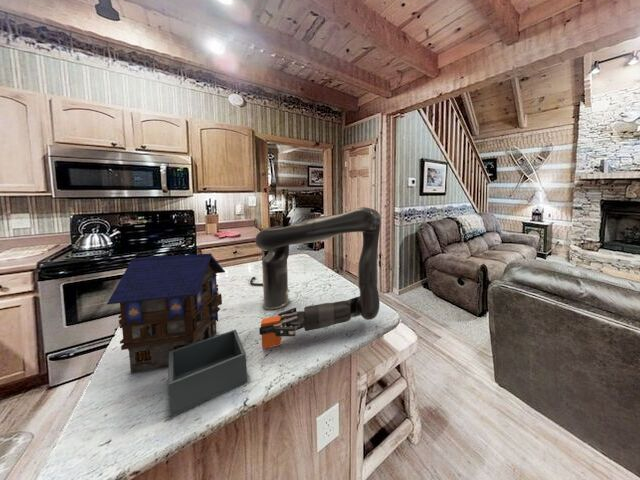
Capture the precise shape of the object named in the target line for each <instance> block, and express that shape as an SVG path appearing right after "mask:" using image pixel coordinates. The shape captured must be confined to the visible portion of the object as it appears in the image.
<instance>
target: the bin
mask: <svg viewBox="0 0 640 480" xmlns="http://www.w3.org/2000/svg"><path fill="white" fill-rule="evenodd" d="M247 366H248V365H247V352H246V351H245V348H244V346H243V344H242V341H241V339H240V335H239V334H238V331H237V329H232V330H230V331H226V332H223V333H221V334H218V335H217V334H216V335H215V336H214V337H211V338H208V339H205V340H203V341H200V342H197V343H194V344H191V345H188V346H185V347H182V348H179V349H176V350H173V351H170V352H169V367H168V369H167V370H168V372H167V374H168V375H167V389H168V390H167V391H168V403H169V415H170V418H173V417H175V416H178V415H179V414H181V413H184V412H186V411H188V410H190V409H192V408H194V407H196V406H199V405H201V404H203V403H205V402H208V401H209V400H211V399H213V398H216V397H218V396H220V395H222V394H224V393H227V392H230V391H231V390H233V389H235V388H237V387H239V386H242V385H243V384H246V383H248V369H247Z"/></svg>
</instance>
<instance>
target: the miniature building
mask: <svg viewBox="0 0 640 480" xmlns="http://www.w3.org/2000/svg"><path fill="white" fill-rule="evenodd" d="M126 267H127V268H126V269H125V271H124V273H123V275H122V276H121V278H120V280H119V281H118V283H117V286H116V287H115V289H114V291H113V292H112V294H111V296H110V298H109V300H108V301H107V302H106V305H113V304H114V305H115V304H119V307H120V308H119V310H120V314H119V315H118V325H119V329H121V331H122V339H121V340H120V341H119V345H120V344H121V346H120V350H121V351H125V350H128V355H129V356H128V357H129V366H130V373H131V374H133V373H139V372H145V371H151V370H157V369H163V368H169V352H170V351H173V350H176V349H179V348H182V347H185V346H188V345H191V344H194V343H197V342H200V341H203V340H205V339H208V338H211V337H214V336H217V334H218V332H217V329H218V328H217V322H219V312H220V311H221V307H219V306H221V305H223V297H222V293H219V284H217V276H218V274H223V273H225V272H226V270H224V268H223V267H222V266H221V265H220V263H219V262H218V261H217V260H216V258H215V257H214V255H213V254H212V253H210V252H209V253H196V254H180V255H179V254H178V255H164V256H150V257H149V256H148V257H134V258H133V257H132V258H131V259H130V262H129V264H128V266H126Z"/></svg>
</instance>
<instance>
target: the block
mask: <svg viewBox="0 0 640 480" xmlns="http://www.w3.org/2000/svg"><path fill="white" fill-rule="evenodd" d="M261 322H262V323H261ZM261 322H260V327H262V326H268V325H274V324H277V323H281V318H280V316H278V315H275V316H269V317H264V318H262V320H261ZM279 327H282V326H279ZM280 333H282V332H280ZM281 343H282V337H277V336H275V334H274V333H268V334H263V335H261V348H262V349H266V348H272V347H276V346H280V345H281Z"/></svg>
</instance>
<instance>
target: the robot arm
mask: <svg viewBox="0 0 640 480" xmlns="http://www.w3.org/2000/svg"><path fill="white" fill-rule="evenodd" d="M381 225H382V217H381V214H380V212H379V211H378V210H377V209H374V208H370V207H366V206H365V207H364V206H363V207H358V208H355V209H352V210H349V211H347V212H346V211H345V212H342V213H339V214H332V215H324V216H318V217H314V218H309V219H306V220H302V221H298V222H296V223H293V224H290V225H287V226H282V225H274V226H271V227H266V228H263V229H261V230H260V231H259V232H258V233H257V234H256V235H255V240H254V242H255V245H256V247H257V248H258V249H259V250H262V251H264V252H267V254H266V255H265V256H264V257H263V259H262V260H261V269H262V273H261V274H262V283H261V282H260V283H258V282H253V281H254V280H256V277H255V276H252V277H251V278H250V281H249V283H250V284H251V285H252V286H262V291H263V293H262V295H263V308H264V309H265V310H277V309H281V308H283V307H285V306H287V305H288V304H289V302H290V300H289V299H290V298H289V292H290V288H289V278H288V277H289V275H288V258H289V256H290V246H293V245H303V244H309V243H310V244H311V243H316V242H317V243H318V242H322V241H326V240H329V239H332V238H334V237H337V236H340V235H342V234H348V233H362V247H361V253H360V256H359V260H358V265H357V287H358V290H359V296H355V297H353V298H349V299H346V300H340V301H334V302H325V303H318V304H312V305H307V306H305V307H304V308H303V311H302V310H301V311H299V310H298V311H297V307H292V308H290V309H287V310H284V311H282V312H279V313H277V316H280V318H281V323H277V324H274V325H268V326H262V327H261V326H260V327H259V330H258V331H259V332H258V333H259V335H260V336H262V335H263V334H268V333H274V334H275V336H277V337H281V338H282V337H291V338H293V337H296V334H297V331H299V330H302V329H304V331H305V332H310V331H314V330H319V329H323V328H328V327H331V326H334V325H338V324H344V323H347V322H349V321H351V319H352V318H357V317H359V316H361V317H362V318H363V319H365V320H367V321H369V320H370V321H371V320H373V319H375V318H376V317H377V315H378V314H379V311H380V295H379V289H378V251H379V239H380V232H381ZM261 323H262V321H261V322H260V324H261ZM279 326H281V327H279ZM280 332H281V333H280Z"/></svg>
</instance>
